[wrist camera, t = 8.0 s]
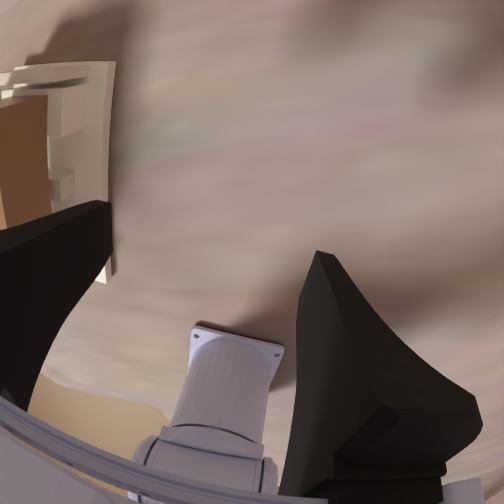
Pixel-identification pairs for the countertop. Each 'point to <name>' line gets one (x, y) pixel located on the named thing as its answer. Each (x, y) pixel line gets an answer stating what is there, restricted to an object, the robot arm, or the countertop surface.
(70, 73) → the display stand
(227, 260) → the countertop surface
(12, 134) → the tan wooden plank
